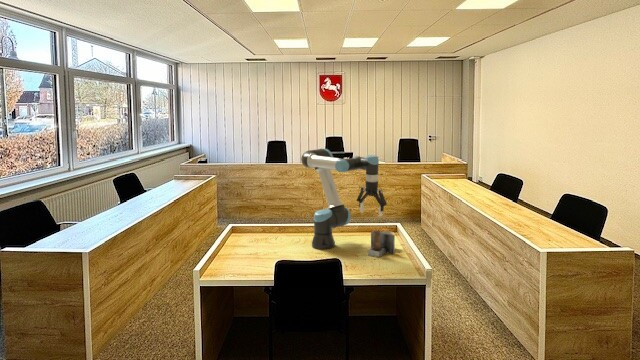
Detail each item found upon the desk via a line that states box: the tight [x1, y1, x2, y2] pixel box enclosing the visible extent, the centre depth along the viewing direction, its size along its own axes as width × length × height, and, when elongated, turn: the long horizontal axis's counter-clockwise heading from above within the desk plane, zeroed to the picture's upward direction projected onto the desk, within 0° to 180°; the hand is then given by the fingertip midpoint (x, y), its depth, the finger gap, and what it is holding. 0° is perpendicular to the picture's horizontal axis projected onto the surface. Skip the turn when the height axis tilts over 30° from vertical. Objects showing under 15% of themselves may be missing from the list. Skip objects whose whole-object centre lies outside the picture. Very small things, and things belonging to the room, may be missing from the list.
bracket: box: [367, 230, 396, 258], centre depth 328 cm, size 16×12×12 cm
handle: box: [373, 229, 381, 251], centre depth 326 cm, size 4×4×14 cm
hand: (371, 214), depth 328 cm, fingers open, 13 cm apart
